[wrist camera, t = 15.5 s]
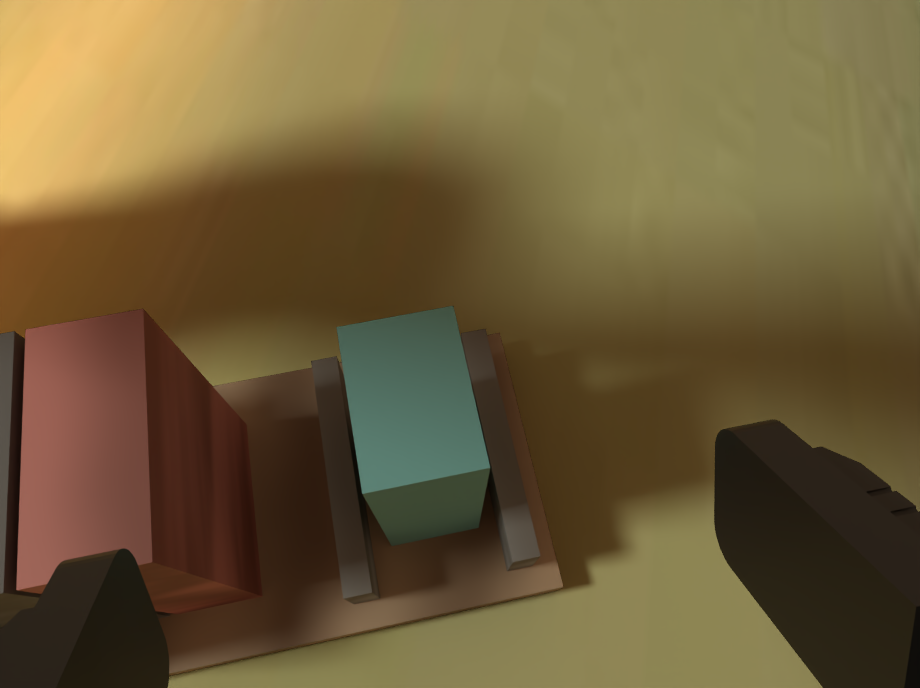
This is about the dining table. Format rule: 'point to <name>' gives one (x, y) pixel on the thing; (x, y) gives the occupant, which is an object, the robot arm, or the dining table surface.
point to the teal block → (415, 424)
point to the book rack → (240, 494)
